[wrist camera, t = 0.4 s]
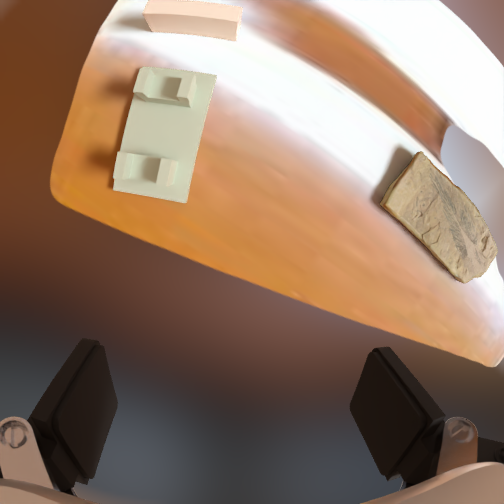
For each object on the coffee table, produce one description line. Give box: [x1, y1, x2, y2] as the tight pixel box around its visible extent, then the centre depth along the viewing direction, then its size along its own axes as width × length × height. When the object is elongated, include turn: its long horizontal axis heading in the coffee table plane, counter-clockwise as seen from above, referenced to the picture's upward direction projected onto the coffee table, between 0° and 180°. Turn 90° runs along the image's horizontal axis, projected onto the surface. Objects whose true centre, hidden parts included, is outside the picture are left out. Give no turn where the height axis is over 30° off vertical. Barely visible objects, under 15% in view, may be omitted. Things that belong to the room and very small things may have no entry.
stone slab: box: [380, 151, 498, 284], centre depth 39 cm, size 12×4×30 cm
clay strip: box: [142, 0, 243, 41], centre depth 26 cm, size 12×2×6 cm, turn 77°
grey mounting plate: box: [113, 67, 217, 203], centre depth 30 cm, size 17×10×6 cm, turn 167°
